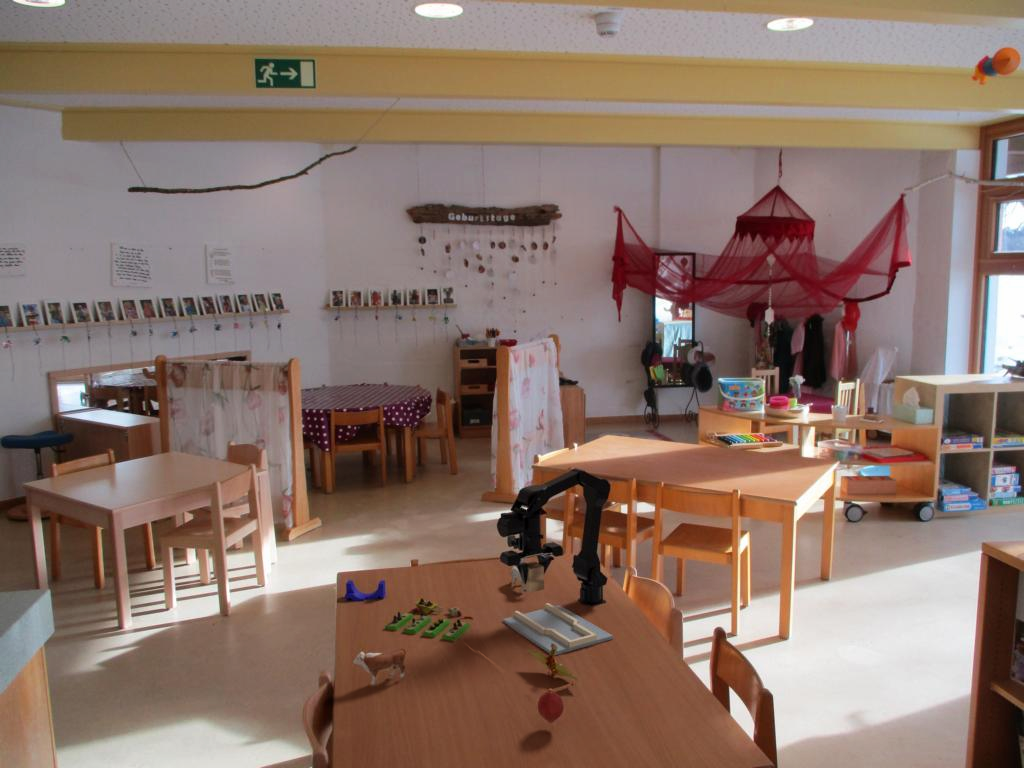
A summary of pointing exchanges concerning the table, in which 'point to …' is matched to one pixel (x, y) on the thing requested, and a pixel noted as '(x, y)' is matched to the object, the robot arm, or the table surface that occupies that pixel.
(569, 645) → the keyhole board
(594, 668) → the table surface
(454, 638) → the toy garden set
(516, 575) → the unicorn figurine
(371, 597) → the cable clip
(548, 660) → the origami crane
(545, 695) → the onion
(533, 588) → the stud block
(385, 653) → the bull figurine
